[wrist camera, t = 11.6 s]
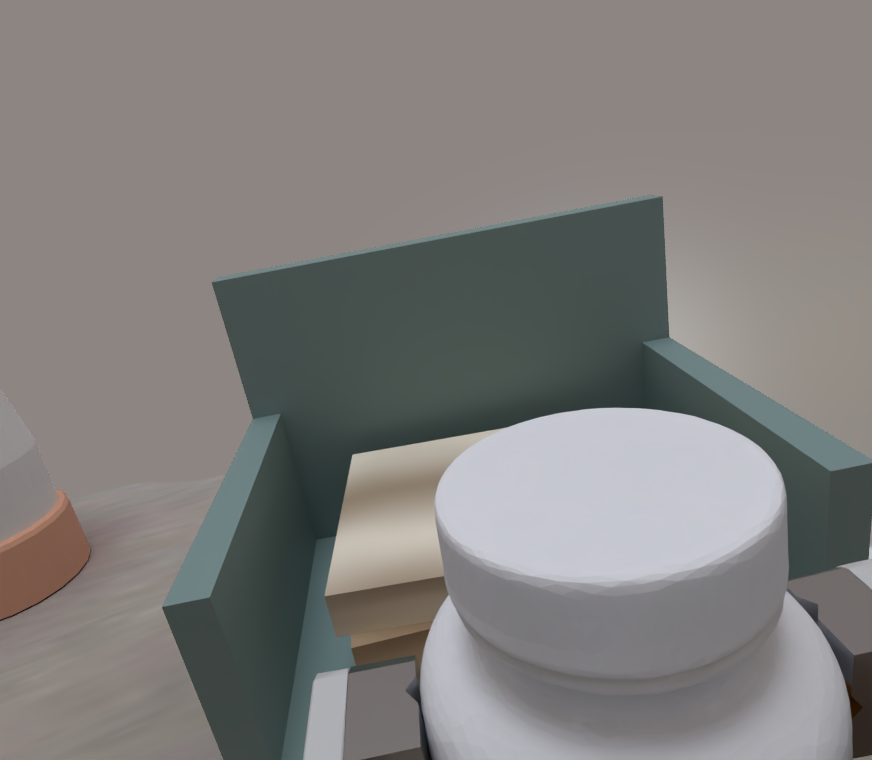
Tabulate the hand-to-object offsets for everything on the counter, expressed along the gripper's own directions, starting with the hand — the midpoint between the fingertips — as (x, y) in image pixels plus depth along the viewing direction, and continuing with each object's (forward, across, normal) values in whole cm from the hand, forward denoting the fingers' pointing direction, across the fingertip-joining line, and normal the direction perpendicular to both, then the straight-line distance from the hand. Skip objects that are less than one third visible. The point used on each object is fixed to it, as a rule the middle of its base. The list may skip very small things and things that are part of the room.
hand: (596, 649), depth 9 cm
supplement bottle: (-1, 0, +6) cm, 6 cm away
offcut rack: (+12, 0, +10) cm, 15 cm away
